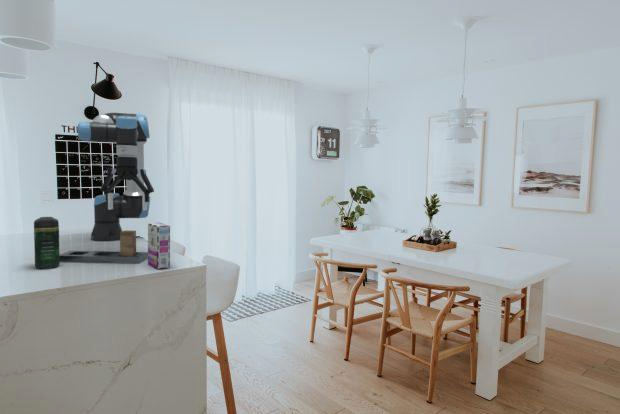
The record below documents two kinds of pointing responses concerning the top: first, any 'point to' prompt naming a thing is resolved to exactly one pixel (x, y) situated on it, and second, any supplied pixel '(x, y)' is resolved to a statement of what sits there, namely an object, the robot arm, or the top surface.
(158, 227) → the candy bar box
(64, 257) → the grey metal hole board
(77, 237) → the top surface
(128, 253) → the walnut peg
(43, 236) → the coffee jar
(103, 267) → the top surface
